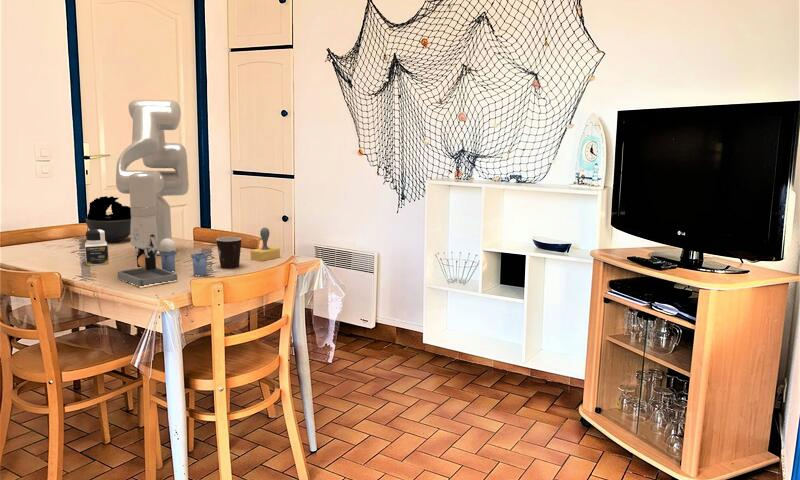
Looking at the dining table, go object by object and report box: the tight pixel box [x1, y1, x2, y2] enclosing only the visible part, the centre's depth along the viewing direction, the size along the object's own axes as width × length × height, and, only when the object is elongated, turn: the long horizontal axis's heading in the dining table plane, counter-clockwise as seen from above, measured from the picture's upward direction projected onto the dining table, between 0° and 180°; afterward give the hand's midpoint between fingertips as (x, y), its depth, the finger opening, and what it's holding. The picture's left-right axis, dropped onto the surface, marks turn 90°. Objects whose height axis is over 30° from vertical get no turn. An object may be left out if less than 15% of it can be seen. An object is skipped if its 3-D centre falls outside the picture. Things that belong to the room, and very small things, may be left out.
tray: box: [117, 266, 178, 286], centre depth 208 cm, size 16×12×2 cm
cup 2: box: [190, 252, 209, 276], centre depth 215 cm, size 4×4×7 cm
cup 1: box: [159, 250, 177, 273], centre depth 220 cm, size 4×4×7 cm
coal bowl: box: [85, 195, 131, 242], centre depth 270 cm, size 20×20×19 cm
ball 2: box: [160, 238, 176, 253], centre depth 219 cm, size 5×5×5 cm
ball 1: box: [138, 254, 146, 269], centre depth 207 cm, size 5×5×5 cm
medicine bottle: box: [84, 229, 110, 266], centre depth 230 cm, size 7×7×12 cm
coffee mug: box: [215, 236, 242, 270], centre depth 227 cm, size 12×9×10 cm
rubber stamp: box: [250, 227, 281, 263], centre depth 242 cm, size 10×6×12 cm, turn 145°
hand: (146, 267), depth 207 cm, fingers closed on ball 1, 4 cm apart
